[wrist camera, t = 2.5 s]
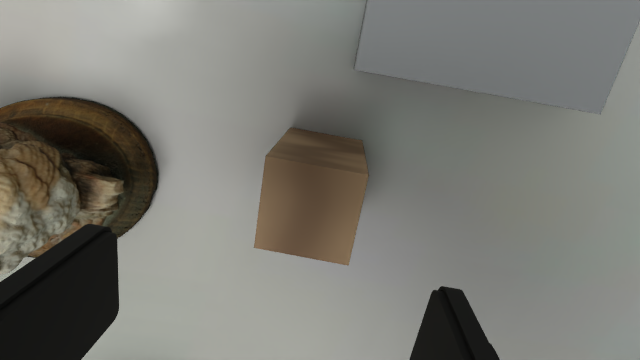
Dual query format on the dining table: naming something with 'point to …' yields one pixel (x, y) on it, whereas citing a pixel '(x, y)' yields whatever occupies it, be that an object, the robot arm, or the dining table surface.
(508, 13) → the slate platform
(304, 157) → the walnut block
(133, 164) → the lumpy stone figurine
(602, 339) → the dining table surface
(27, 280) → the robot arm
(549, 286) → the dining table surface
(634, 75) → the dining table surface
